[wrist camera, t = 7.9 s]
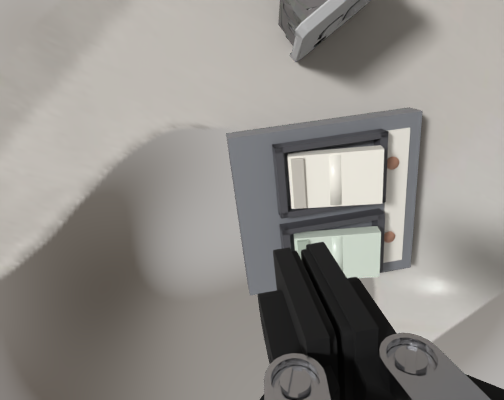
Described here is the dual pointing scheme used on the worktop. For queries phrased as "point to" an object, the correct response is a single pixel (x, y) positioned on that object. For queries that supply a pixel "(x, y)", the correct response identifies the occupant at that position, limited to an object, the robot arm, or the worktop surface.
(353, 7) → the electrical switch
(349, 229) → the rocker sage
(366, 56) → the worktop surface
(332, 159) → the rocker ivory
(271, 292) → the robot arm
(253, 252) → the switch panel
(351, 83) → the worktop surface
